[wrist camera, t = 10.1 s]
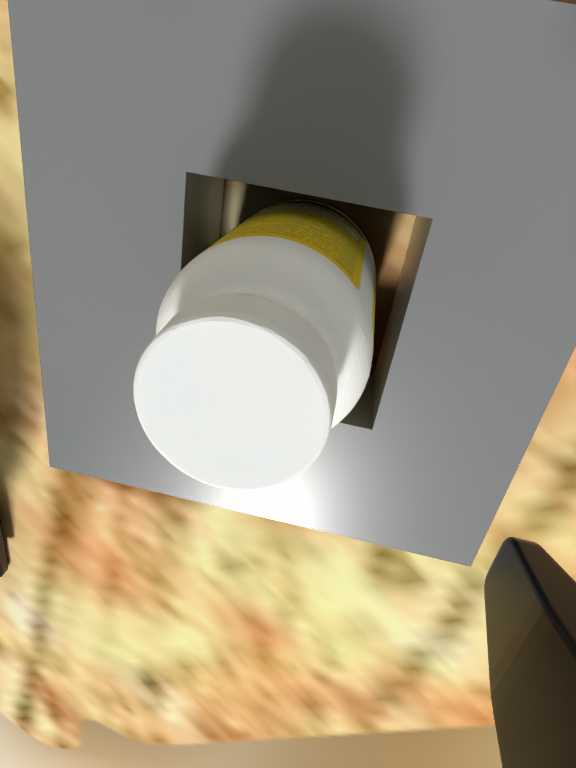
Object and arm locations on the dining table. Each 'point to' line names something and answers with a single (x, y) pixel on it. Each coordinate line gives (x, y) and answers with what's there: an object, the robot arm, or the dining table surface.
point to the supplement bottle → (261, 348)
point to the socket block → (322, 179)
